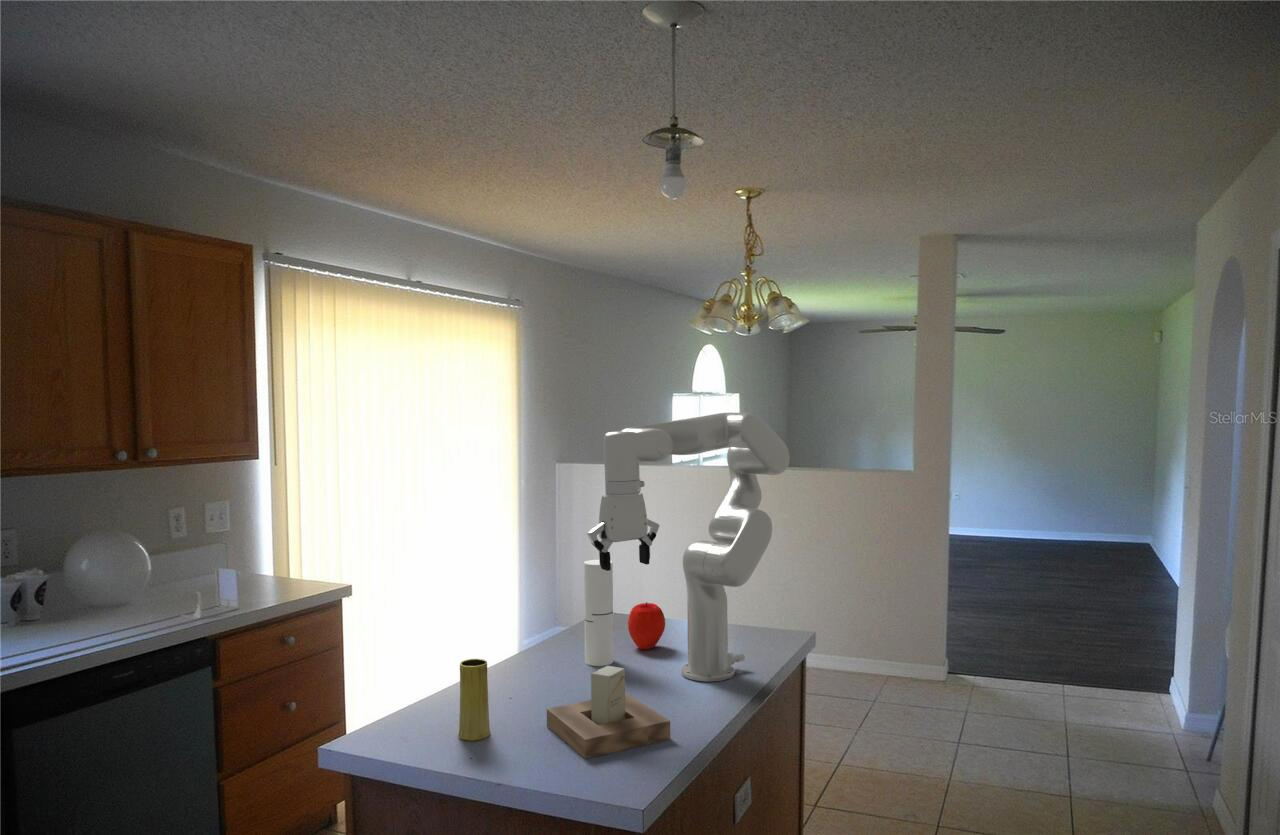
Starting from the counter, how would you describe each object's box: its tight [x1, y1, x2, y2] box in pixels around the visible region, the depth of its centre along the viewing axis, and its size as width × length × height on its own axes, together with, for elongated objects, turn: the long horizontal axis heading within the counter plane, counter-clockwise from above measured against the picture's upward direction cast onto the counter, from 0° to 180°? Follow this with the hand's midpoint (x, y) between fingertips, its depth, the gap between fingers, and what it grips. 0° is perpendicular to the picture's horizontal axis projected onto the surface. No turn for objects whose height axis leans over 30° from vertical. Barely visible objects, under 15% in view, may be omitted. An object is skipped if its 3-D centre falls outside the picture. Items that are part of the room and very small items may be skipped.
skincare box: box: [590, 665, 626, 725], centre depth 165 cm, size 6×4×12 cm
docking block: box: [546, 692, 671, 760], centre depth 165 cm, size 18×18×4 cm
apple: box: [627, 601, 666, 651], centre depth 222 cm, size 10×10×12 cm
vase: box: [457, 658, 491, 742], centre depth 164 cm, size 6×6×14 cm
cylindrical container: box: [583, 559, 614, 667], centre depth 211 cm, size 7×7×25 cm
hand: (625, 566), depth 183 cm, fingers open, 9 cm apart
